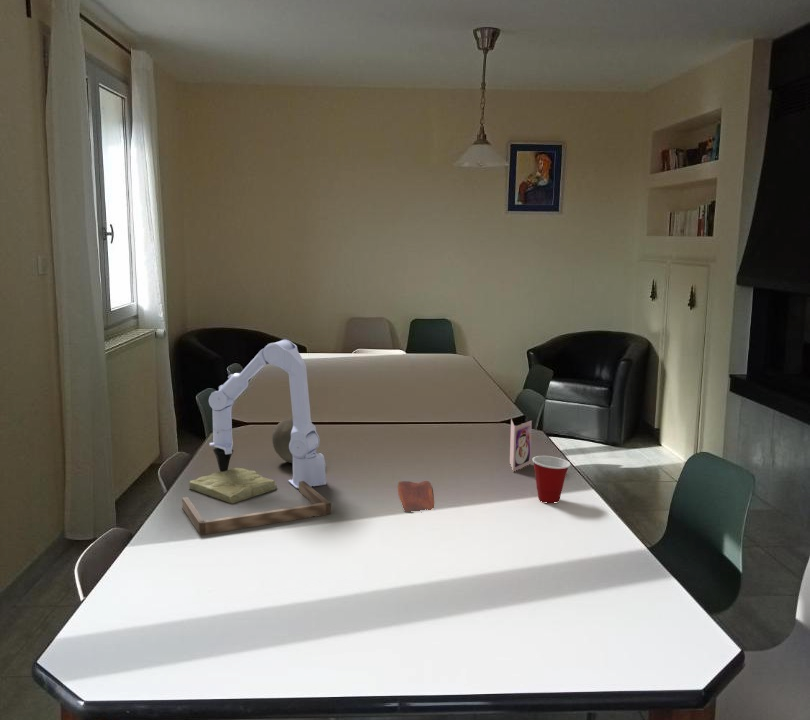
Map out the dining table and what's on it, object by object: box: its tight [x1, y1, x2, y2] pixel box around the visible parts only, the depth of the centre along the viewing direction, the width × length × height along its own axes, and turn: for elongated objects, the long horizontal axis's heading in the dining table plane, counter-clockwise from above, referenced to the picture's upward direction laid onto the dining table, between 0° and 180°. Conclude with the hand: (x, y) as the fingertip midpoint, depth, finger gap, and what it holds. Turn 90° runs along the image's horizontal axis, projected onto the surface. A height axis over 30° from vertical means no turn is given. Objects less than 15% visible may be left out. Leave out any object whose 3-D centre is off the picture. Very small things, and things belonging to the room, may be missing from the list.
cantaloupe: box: [271, 418, 293, 465], centre depth 255 cm, size 14×14×15 cm
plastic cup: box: [531, 455, 572, 504], centre depth 222 cm, size 11×11×12 cm
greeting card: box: [509, 418, 533, 473], centre depth 254 cm, size 11×7×15 cm, turn 143°
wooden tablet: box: [397, 480, 435, 513], centre depth 225 cm, size 27×10×2 cm, turn 2°
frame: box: [181, 481, 332, 536], centre depth 211 cm, size 35×22×3 cm, turn 117°
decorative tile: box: [188, 467, 278, 504], centre depth 230 cm, size 18×20×4 cm
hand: (223, 471), depth 243 cm, fingers closed
